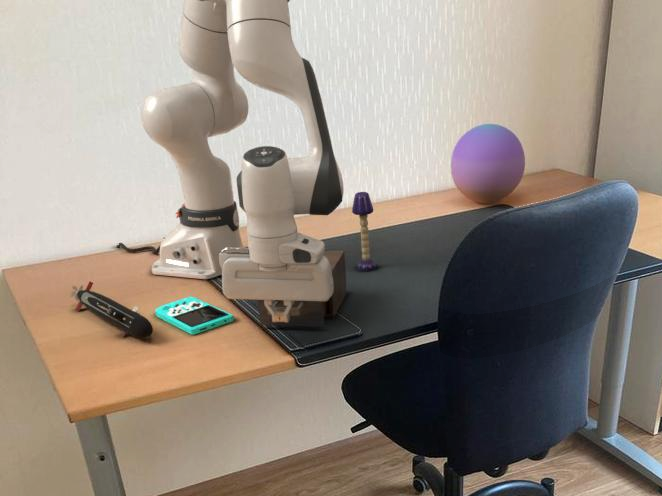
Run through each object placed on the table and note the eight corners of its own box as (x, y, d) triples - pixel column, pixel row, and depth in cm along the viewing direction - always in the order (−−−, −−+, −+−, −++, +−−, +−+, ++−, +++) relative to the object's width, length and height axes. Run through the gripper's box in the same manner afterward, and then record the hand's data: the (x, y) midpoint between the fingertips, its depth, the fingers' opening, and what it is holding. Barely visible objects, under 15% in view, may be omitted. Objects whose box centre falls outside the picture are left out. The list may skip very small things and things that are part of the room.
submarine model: (83, 313, 180) (42, 292, 173) (97, 285, 180) (57, 263, 172) (155, 355, 160) (113, 334, 153) (171, 324, 160) (129, 301, 152)
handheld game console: (193, 300, 177) (192, 294, 176) (236, 320, 166) (235, 314, 166) (151, 314, 171) (150, 307, 171) (192, 335, 161) (191, 328, 160)
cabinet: (333, 317, 165) (330, 273, 160) (267, 316, 168) (262, 272, 163) (347, 293, 176) (344, 250, 171) (284, 291, 179) (280, 250, 174)
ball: (514, 190, 239) (518, 115, 228) (530, 209, 223) (535, 129, 212) (445, 194, 239) (445, 120, 228) (456, 214, 222) (457, 134, 211)
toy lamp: (373, 272, 187) (370, 196, 177) (353, 271, 188) (349, 195, 178) (377, 265, 191) (374, 190, 181) (357, 264, 191) (353, 190, 182)
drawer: (317, 336, 156) (314, 299, 152) (253, 334, 158) (249, 298, 154) (336, 302, 170) (334, 267, 166) (277, 301, 172) (273, 266, 168)
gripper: (211, 252, 146) (222, 326, 153) (325, 254, 142) (330, 329, 150) (223, 241, 151) (232, 313, 159) (333, 242, 147) (337, 316, 155)
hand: (281, 321), depth 154 cm, fingers closed, pressing on drawer
